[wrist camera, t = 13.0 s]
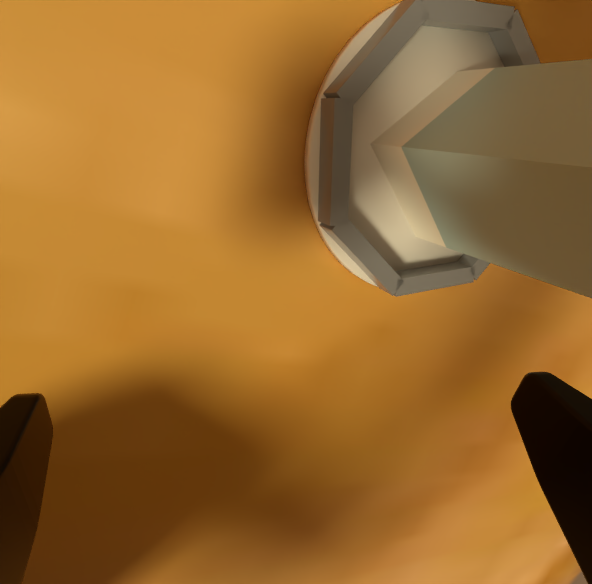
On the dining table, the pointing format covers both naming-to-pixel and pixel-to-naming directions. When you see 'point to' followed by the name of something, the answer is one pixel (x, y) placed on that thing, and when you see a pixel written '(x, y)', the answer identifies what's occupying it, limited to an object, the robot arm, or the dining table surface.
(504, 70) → the gray block
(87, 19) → the dining table surface
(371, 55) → the coaster
